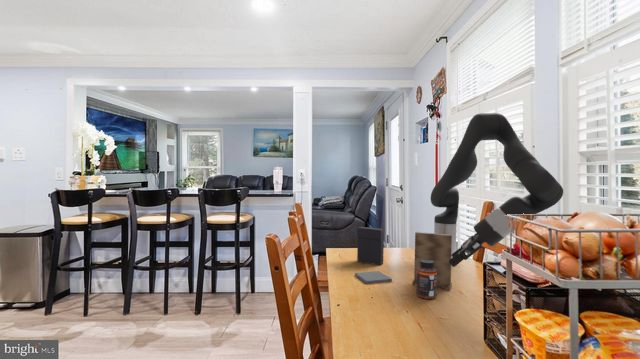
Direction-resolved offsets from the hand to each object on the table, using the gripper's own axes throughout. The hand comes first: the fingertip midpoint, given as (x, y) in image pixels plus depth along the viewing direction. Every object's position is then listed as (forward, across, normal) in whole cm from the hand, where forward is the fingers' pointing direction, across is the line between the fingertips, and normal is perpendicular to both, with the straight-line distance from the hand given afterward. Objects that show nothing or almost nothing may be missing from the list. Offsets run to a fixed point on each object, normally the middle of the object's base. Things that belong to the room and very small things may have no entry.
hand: (452, 260), depth 104 cm
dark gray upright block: (+34, -30, -16) cm, 48 cm away
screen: (+14, -12, +4) cm, 19 cm away
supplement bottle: (+14, 0, +4) cm, 15 cm away
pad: (+28, -9, -11) cm, 32 cm away
